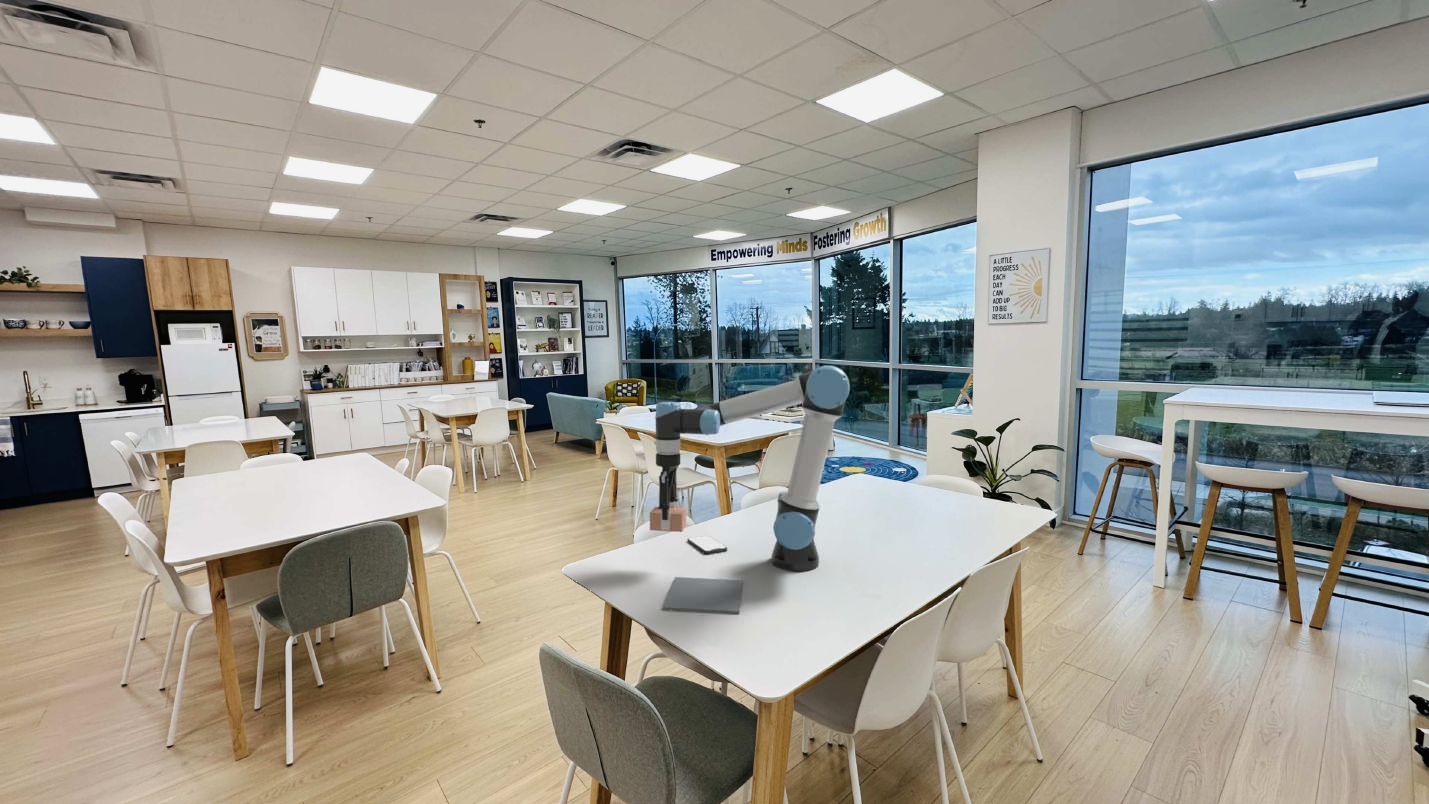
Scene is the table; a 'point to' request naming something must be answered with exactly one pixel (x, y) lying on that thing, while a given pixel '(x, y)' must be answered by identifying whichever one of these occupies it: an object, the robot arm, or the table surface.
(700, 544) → the smartphone
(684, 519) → the card box
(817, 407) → the robot arm
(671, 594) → the mat
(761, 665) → the table surface
